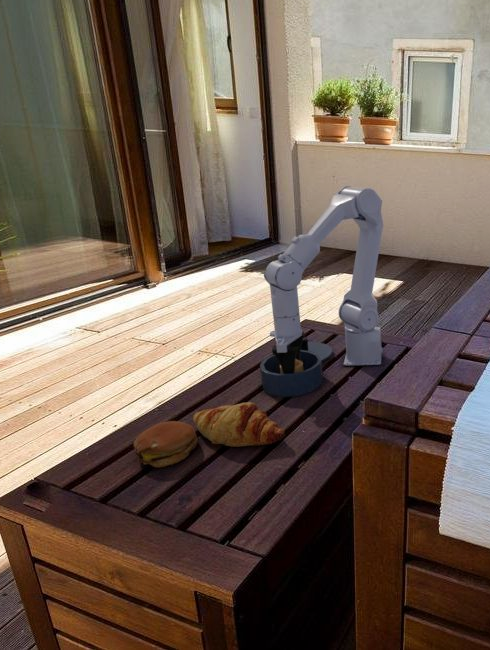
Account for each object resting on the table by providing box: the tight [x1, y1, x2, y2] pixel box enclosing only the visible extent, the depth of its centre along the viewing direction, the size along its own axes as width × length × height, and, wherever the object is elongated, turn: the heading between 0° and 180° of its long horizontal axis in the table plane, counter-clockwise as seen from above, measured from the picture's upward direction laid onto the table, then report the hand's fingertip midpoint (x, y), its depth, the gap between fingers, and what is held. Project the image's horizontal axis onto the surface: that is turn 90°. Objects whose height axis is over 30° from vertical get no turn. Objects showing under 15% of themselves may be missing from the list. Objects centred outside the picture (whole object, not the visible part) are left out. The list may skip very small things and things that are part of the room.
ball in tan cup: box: [280, 359, 304, 374], centre depth 110 cm, size 5×5×4 cm
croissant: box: [192, 401, 286, 448], centre depth 90 cm, size 21×10×8 cm, turn 72°
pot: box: [259, 350, 324, 398], centre depth 111 cm, size 14×14×5 cm
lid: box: [301, 336, 333, 362], centre depth 125 cm, size 15×15×5 cm
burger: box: [132, 420, 199, 468], centre depth 85 cm, size 10×9×5 cm
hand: (291, 368), depth 110 cm, fingers closed on ball in tan cup, 5 cm apart
